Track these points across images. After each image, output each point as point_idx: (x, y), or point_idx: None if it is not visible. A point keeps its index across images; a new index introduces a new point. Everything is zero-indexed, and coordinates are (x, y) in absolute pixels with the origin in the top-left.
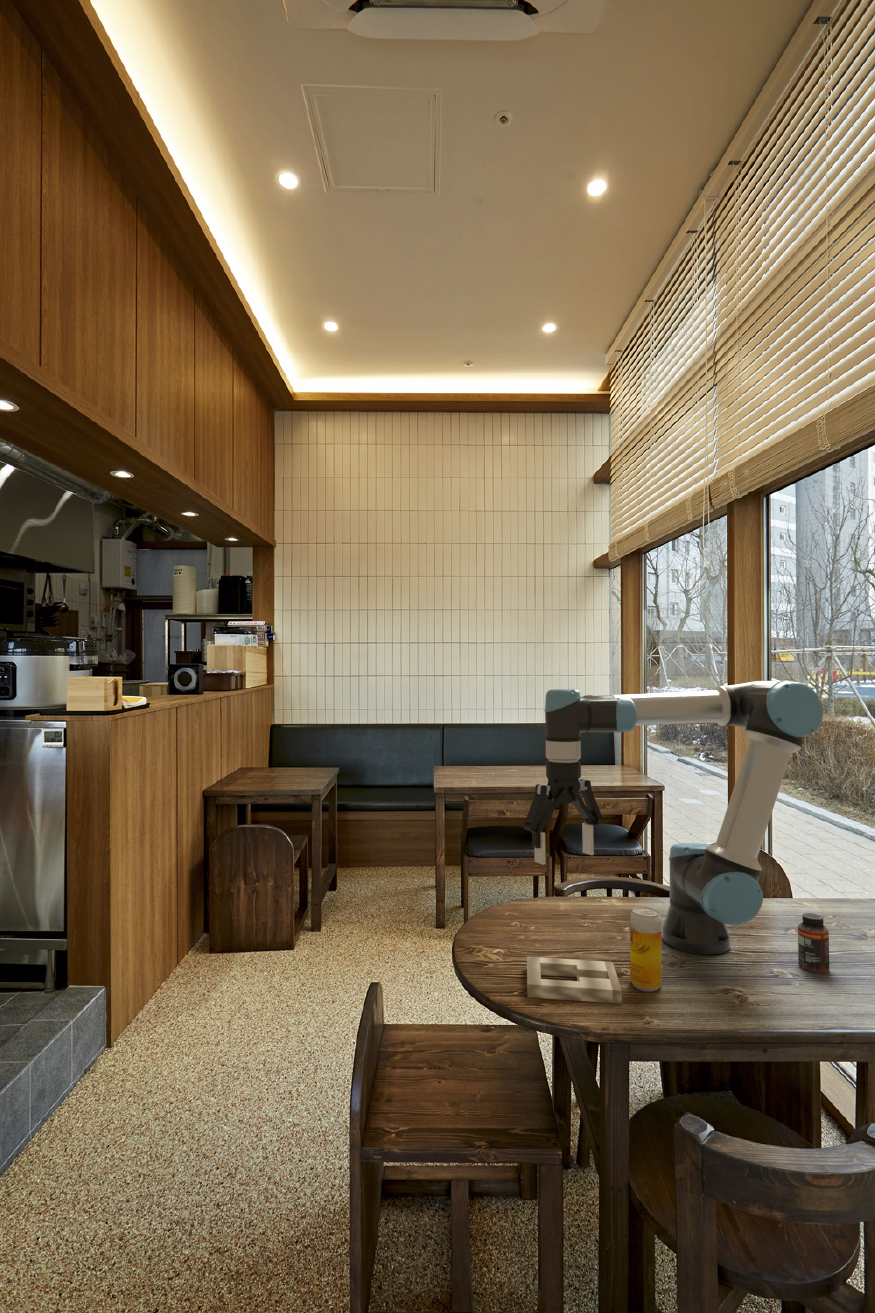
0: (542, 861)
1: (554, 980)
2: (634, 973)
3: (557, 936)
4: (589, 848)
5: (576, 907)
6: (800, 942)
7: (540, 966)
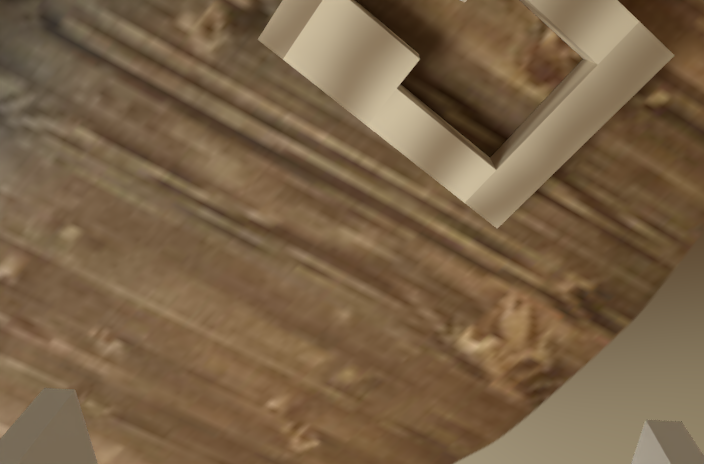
0: (698, 448)
1: (566, 27)
2: None
3: (247, 329)
4: (43, 454)
5: None
6: None
7: (492, 165)
